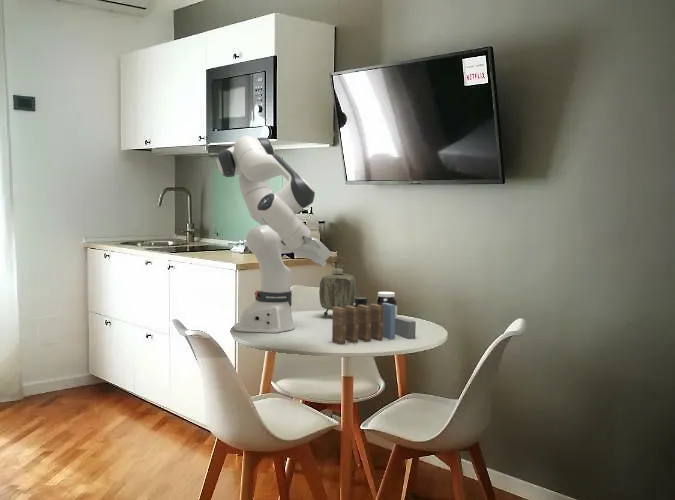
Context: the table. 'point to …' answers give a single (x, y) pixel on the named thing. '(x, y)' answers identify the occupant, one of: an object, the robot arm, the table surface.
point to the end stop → (405, 327)
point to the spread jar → (387, 299)
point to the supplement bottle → (360, 301)
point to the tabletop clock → (337, 289)
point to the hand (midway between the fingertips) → (323, 265)
